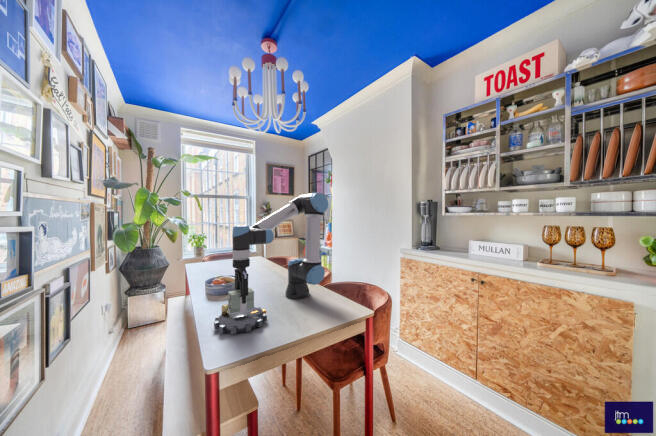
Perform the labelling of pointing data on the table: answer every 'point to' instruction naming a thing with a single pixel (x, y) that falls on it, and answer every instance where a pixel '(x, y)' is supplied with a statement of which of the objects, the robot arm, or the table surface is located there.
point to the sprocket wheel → (239, 320)
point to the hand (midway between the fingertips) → (241, 307)
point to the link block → (235, 300)
